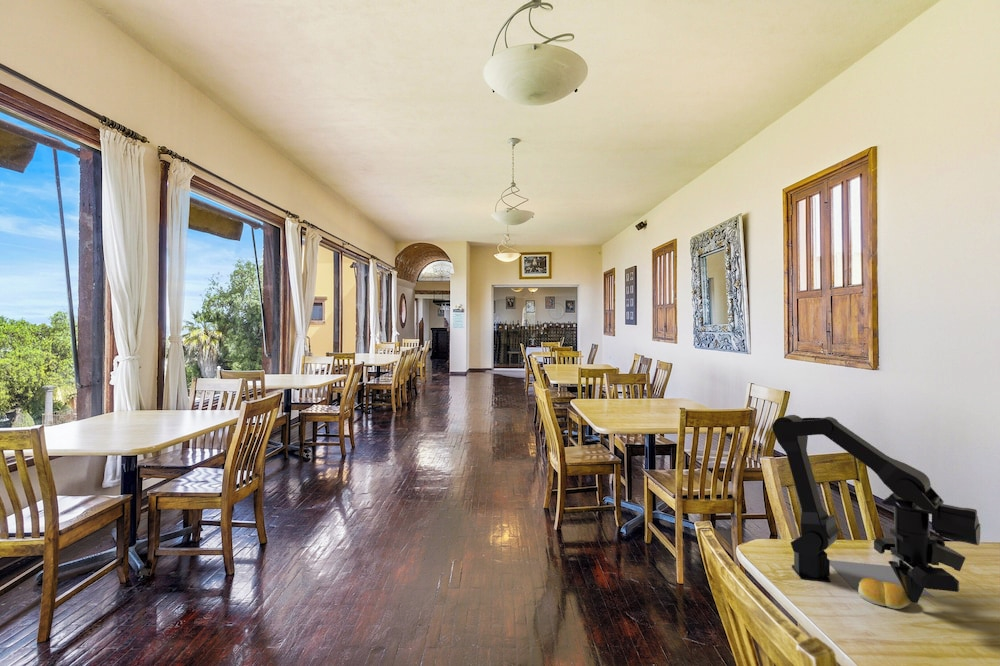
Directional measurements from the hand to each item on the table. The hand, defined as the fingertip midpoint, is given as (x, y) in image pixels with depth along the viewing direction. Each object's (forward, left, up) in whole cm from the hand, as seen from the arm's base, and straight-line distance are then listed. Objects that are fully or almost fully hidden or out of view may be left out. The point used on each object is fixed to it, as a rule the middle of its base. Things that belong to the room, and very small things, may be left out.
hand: (913, 602), depth 100 cm
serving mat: (0, +14, -2) cm, 14 cm away
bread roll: (-1, +4, -3) cm, 5 cm away
